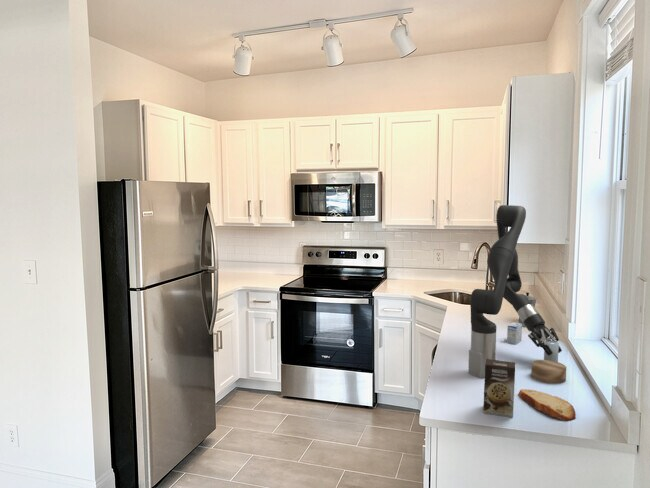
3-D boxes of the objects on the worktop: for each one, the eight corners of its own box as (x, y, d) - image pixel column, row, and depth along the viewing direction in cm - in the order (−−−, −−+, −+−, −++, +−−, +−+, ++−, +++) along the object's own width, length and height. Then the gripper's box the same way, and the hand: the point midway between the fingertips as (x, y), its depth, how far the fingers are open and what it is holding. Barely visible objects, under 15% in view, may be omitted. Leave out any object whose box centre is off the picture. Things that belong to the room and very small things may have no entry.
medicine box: (512, 339, 231) (512, 321, 230) (521, 341, 228) (522, 323, 227) (506, 343, 225) (507, 325, 224) (516, 345, 222) (517, 326, 221)
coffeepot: (540, 328, 249) (541, 295, 247) (521, 328, 249) (522, 294, 248) (529, 321, 264) (530, 289, 262) (512, 321, 265) (513, 289, 263)
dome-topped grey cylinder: (552, 369, 189) (553, 345, 188) (540, 365, 194) (541, 342, 193) (560, 367, 192) (561, 343, 191) (549, 363, 196) (549, 340, 195)
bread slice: (518, 392, 169) (519, 382, 168) (575, 402, 160) (576, 391, 160) (512, 412, 153) (512, 401, 153) (575, 424, 144) (575, 413, 144)
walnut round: (552, 386, 173) (552, 373, 173) (524, 375, 184) (524, 363, 183) (572, 380, 179) (573, 367, 179) (544, 370, 190) (545, 358, 189)
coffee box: (482, 413, 151) (484, 364, 150) (483, 405, 157) (485, 358, 156) (513, 418, 148) (515, 367, 146) (513, 409, 154) (515, 361, 152)
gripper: (524, 314, 194) (550, 351, 185) (547, 310, 201) (573, 345, 191) (513, 324, 199) (537, 360, 190) (536, 320, 206) (560, 354, 197)
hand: (555, 353), depth 191 cm, fingers closed on dome-topped grey cylinder, 5 cm apart
